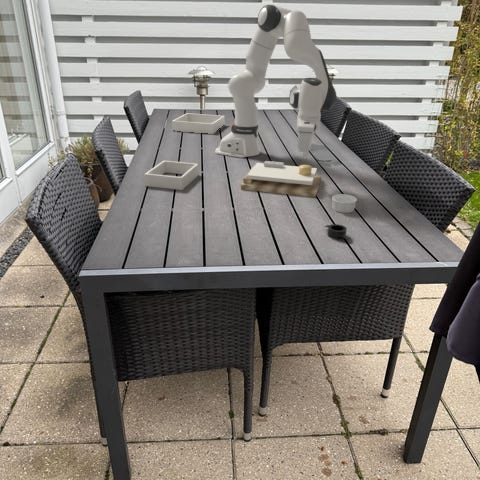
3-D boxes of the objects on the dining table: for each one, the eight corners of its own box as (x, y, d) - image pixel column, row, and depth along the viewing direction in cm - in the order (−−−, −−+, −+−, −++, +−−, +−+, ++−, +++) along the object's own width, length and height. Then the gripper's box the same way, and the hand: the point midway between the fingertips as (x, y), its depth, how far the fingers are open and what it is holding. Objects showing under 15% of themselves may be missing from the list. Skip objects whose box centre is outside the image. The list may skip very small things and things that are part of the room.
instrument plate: (247, 178, 186) (247, 167, 184) (256, 166, 202) (257, 155, 200) (311, 185, 180) (312, 174, 178) (316, 171, 196) (317, 161, 194)
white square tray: (172, 131, 275) (172, 120, 272) (187, 122, 296) (186, 113, 294) (212, 134, 269) (212, 124, 267) (224, 125, 291) (224, 115, 288)
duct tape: (346, 230, 154) (347, 222, 152) (350, 243, 145) (351, 235, 143) (322, 229, 154) (323, 221, 153) (325, 242, 145) (326, 234, 144)
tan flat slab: (240, 189, 186) (241, 180, 185) (252, 173, 206) (253, 164, 204) (315, 197, 180) (316, 187, 178) (320, 179, 199) (321, 171, 198)
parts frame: (145, 185, 188) (144, 174, 185) (164, 171, 205) (163, 160, 203) (182, 190, 184) (181, 178, 182) (198, 175, 202) (198, 163, 199)
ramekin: (341, 215, 165) (342, 204, 163) (325, 206, 172) (327, 196, 170) (360, 211, 168) (362, 200, 166) (344, 203, 175) (346, 192, 173)
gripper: (303, 117, 189) (300, 150, 195) (296, 127, 171) (293, 163, 177) (319, 118, 188) (315, 151, 194) (313, 129, 170) (309, 165, 176)
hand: (305, 157), depth 186 cm, fingers closed
